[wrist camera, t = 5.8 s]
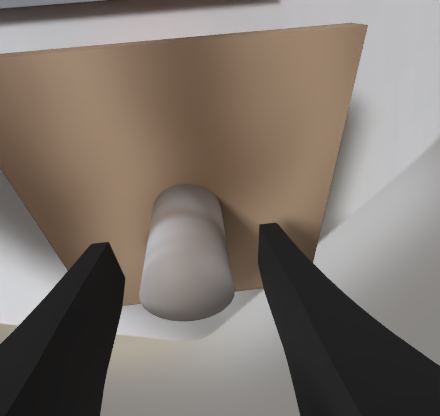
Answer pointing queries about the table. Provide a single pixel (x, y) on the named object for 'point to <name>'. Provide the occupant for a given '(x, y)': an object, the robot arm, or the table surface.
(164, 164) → the cover board
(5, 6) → the mat
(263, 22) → the table surface
